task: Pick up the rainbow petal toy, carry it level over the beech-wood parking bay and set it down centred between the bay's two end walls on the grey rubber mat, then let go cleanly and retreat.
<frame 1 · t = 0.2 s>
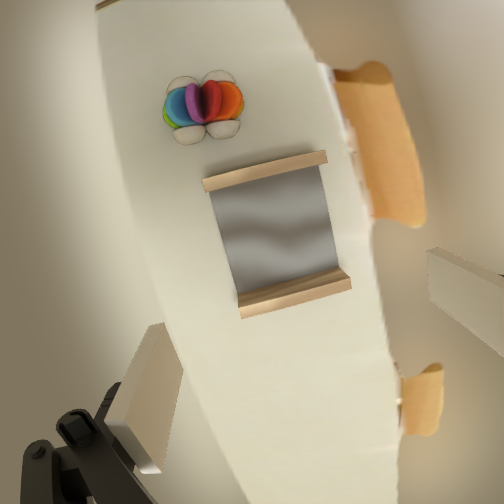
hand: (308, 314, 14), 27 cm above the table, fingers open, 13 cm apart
rainbow petal toy: (204, 110, 37), on the table
bay: (276, 229, 41), on the table
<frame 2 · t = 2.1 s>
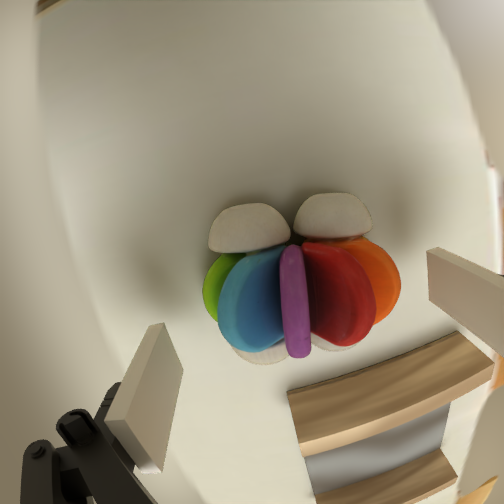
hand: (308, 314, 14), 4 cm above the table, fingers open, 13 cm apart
rainbow petal toy: (289, 267, 19), on the table
bay: (381, 433, 23), on the table
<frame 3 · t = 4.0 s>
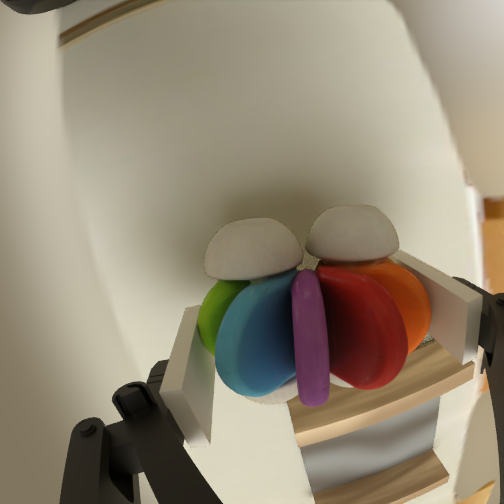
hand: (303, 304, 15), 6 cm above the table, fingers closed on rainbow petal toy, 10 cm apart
rainbow petal toy: (299, 291, 16), point 5 cm above the table, touching gripper
bay: (374, 432, 25), on the table
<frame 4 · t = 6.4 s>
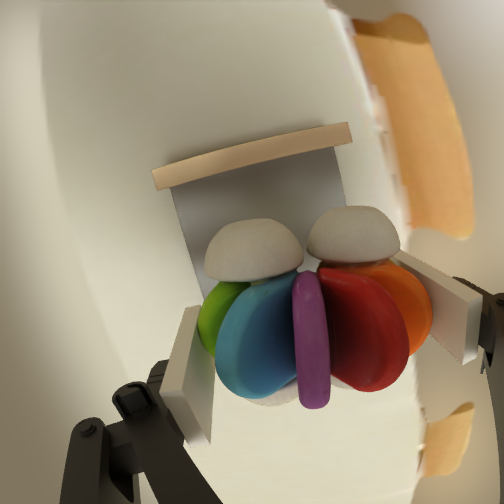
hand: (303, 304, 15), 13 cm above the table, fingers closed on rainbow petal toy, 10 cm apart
rainbow petal toy: (300, 292, 16), point 12 cm above the table, touching gripper
bay: (272, 244, 28), on the table
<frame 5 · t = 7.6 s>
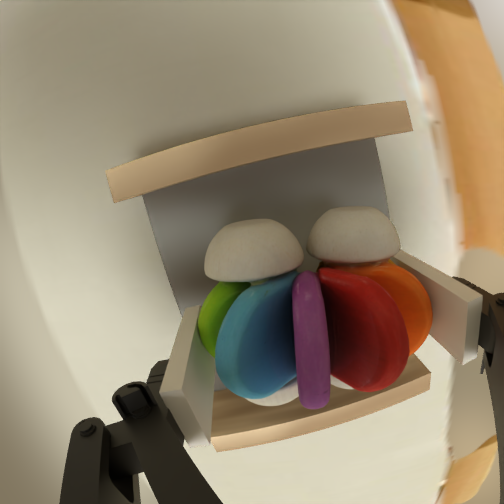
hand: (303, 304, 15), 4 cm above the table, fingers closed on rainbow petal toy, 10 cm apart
rainbow petal toy: (300, 292, 16), point 4 cm above the table, touching gripper
bay: (288, 275, 20), on the table
when the fingers open (2 cm above the table, at t = 8.7 s): rainbow petal toy drops 1 cm, resting on bay.
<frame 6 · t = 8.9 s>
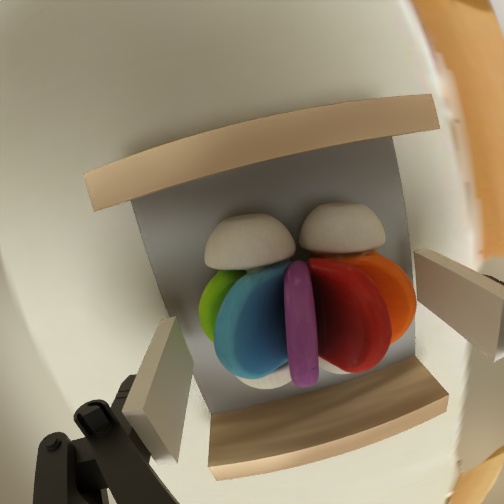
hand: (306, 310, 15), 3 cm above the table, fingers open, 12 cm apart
rainbow petal toy: (293, 283, 17), resting on bay
bay: (295, 290, 17), on the table
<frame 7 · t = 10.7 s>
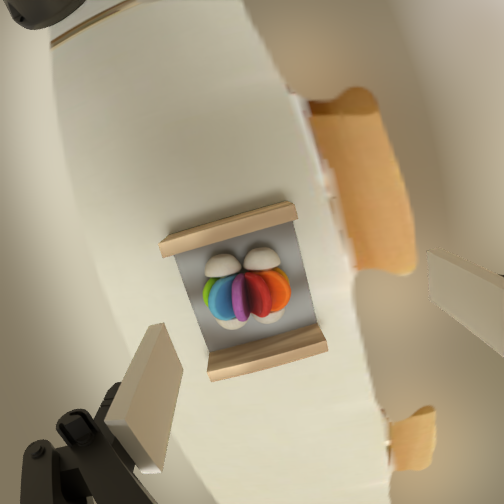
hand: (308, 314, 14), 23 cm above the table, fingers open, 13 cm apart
rainbow petal toy: (245, 283, 38), resting on bay
bay: (247, 287, 38), on the table
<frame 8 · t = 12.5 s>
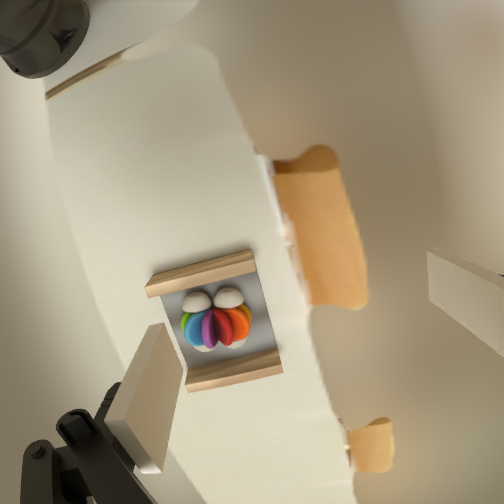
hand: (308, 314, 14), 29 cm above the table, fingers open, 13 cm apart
rainbow petal toy: (216, 313, 45), resting on bay
bay: (218, 317, 45), on the table
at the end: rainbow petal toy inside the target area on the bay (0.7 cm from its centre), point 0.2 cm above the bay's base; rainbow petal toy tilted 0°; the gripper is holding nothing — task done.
